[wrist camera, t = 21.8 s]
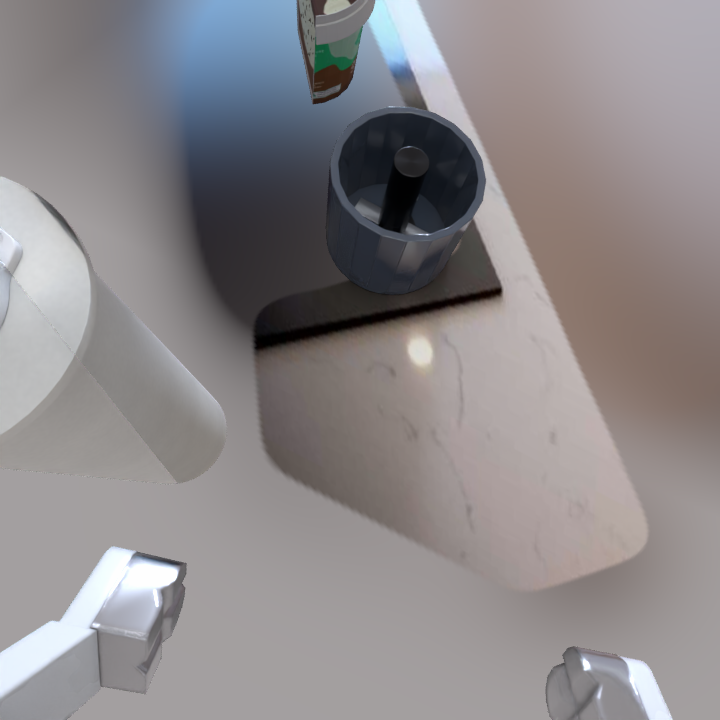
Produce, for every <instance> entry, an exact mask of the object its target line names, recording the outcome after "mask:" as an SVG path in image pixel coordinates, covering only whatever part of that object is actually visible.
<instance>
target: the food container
mask: <svg viewBox="0 0 720 720" xmlns="http://www.w3.org/2000/svg"><path fill="white" fill-rule="evenodd" d="M374 4H375V0H297V22H298V34H299V39H300V44H301V49H302V54H303V59H304V64H305V69H306V74H307V79H308V83H309V88H310V93H311V98H312V103H313V104H318V103H324V102H327V101H329V100H331V99H334V98H336V97H338V96H339V95H340V94H341V93H342V92H343V91H345V90H346V89H347V88H348V86H349V84H350V82H351V80H352V78H353V74H354V68H355V63H356V58H357V53H358V48H359V43H360V37H361V32H362V28H363V25H364V24H365V22H366V21H367V20H368V19H369V17H370V15H371V13H372V11H373V8H374Z"/></svg>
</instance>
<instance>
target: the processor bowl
mask: <svg viewBox="0 0 720 720" xmlns="http://www.w3.org/2000/svg"><path fill="white" fill-rule="evenodd" d="M404 147H416V148H418V149H420V150H422V151H423V152H424V153H425V154H426V155H427V157H428V160H429V168H428V171H427V174H426V176H425V179H424V182H423V185H422V187H421V190H420V193H419V196H418V200H417V201H416V204H415V207H414V209H413V212H412V215H411V216H412V218H413V219H414V222H415V225H416V227H418V228H420V229H422V230H424V231H425V232H427V233H429V234H417V235H406V234H401V233H397V232H393V231H389V230H385V229H383V228H381V227H380V226H378V225H376V224H374V223H373V222H371V221H369V220H367V219H366V218H364V217H363V216H362V215H361V214H360V213H359V212H358V211H357V210H356V208H355V206H356V205H357V203H358V202H359V200H360V198H363V199H365V200H367V201H369V202H371V203H373V204H375V205H377V206H378V207H381V206H382V203H383V199H384V195H385V191H386V187H387V183H388V179H389V175H390V171H391V167H392V164H393V160H394V156H395V154H396V153H397V151H399V150H400V149H402V148H404ZM485 184H486V178H485V173H484V168H483V162H482V159H481V157H480V155H479V153H478V152H477V150H476V148H475V146H474V144H473V143H472V141H471V140H470V139H469V138H468V137H467V136H466V135H465V134H464V133H463V132H462V131H461V130H460V129H459V128H458V127H457V126H456V125H454V123H452V122H450V121H448V120H446V119H445V118H443V117H441V116H439V115H437V114H436V113H433V112H429V111H425V110H421V109H417V108H414V107H386V108H383V109H379V110H376V111H372V112H369V113H367V114H365V115H363V116H361V117H360V118H358V119H357V120H355V121H354V122H353V123H351V124H349V126H347V128H346V129H345V130H344V132H343V133H342V134H341V136H340V137H339V139H338V140H337V141H336V143H335V146H334V150H333V153H332V157H331V160H330V170H329V187H328V202H327V216H326V239H327V246H328V249H329V253H330V255H331V257H332V259H333V261H334V262H335V264H336V266H337V267H338V268H339V270H340V271H341V272H342V273H343V274H344V275H345V276H346V277H347V278H348V279H349V280H351V281H352V282H353V283H355V284H357V285H358V286H360V287H362V288H364V289H367V290H369V291H372V292H376V293H381V294H390V295H396V294H405V293H409V292H413V291H416V290H418V289H420V288H422V287H424V286H426V285H427V284H429V283H430V282H432V281H433V280H434V279H435V278H436V277H437V276H438V275H439V273H440V272H441V271H442V269H443V268H444V266H445V264H446V263H447V261H448V259H449V258H450V256H451V254H452V252H453V251H454V249H455V247H456V246H457V244H458V242H459V241H460V239H461V237H462V235H463V234H464V232H465V230H466V229H467V227H468V225H469V224H470V222H471V220H472V218H473V217H474V215H475V213H476V212H477V210H478V208H479V207H480V205H481V203H482V201H483V196H484V190H485Z"/></svg>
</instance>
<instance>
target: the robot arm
mask: <svg viewBox="0 0 720 720" xmlns="http://www.w3.org/2000/svg"><path fill="white" fill-rule="evenodd" d="M22 253H23V248H22V245H21V244H20V243H19V242H18V241H17V240H16V239H15V238H13V237H12V236H11V235H10V234H8V233H7V232H6V231H5V230H3V229H2V228H1V227H0V328H1V326H2V324H3V322H4V319H5V316H6V313H7V309H8V304H9V292H10V281H11V277H12V275H13V273H14V271H15V269H16V268H17V266H18V264H19V262H20V259H21V257H22ZM185 575H186V563H184V562H179V561H175V560H171V559H166V558H162V557H158V556H153V555H149V554H145V553H140V552H137V551H133V550H128V549H123V548H119V547H114V546H112V547H111V548H110V549H109V550H108V551H107V552H105V554H104V555H103V556H102V558H101V560H100V561H99V562H98V564H97V566H96V567H95V569H94V570H93V572H92V573H91V575H90V576H89V578H88V579H87V581H86V582H85V584H84V585H83V587H82V588H81V590H80V591H79V593H78V594H77V596H76V597H75V599H74V600H73V602H72V603H71V605H70V606H69V608H68V609H67V611H66V612H65V614H64V615H63V617H62V618H61V620H60V621H59V622H57V621H50V622H48V623H47V624H45V625H43V626H42V627H40V628H39V629H37V630H35V631H34V632H33V633H31V634H29V635H27V636H26V637H24V638H23V639H21V640H20V641H18V642H16V643H15V644H13V645H12V646H10V647H9V648H7V649H5V650H4V651H2V652H1V653H0V720H67V719H68V718H69V717H70V716H71V715H72V714H74V713H75V712H76V711H77V710H78V709H79V708H80V707H81V706H83V705H84V704H85V703H86V702H87V701H88V700H89V699H90V698H92V697H93V696H94V695H95V694H96V693H97V692H98V691H99V690H100V686H101V687H107V688H113V689H119V690H124V691H130V692H136V693H141V694H146V692H147V690H148V688H149V685H150V683H151V681H152V678H153V676H154V674H155V672H156V670H157V667H158V665H159V663H160V660H161V655H162V643H163V642H164V641H165V640H166V639H168V638H169V637H170V636H171V635H172V633H173V630H174V628H175V625H176V623H177V620H178V618H179V614H180V611H181V608H182V604H183V600H184V595H185V587H184V586H183V584H182V582H183V580H184V577H185ZM563 659H564V663H562V664H560V665H557V666H555V667H553V669H552V670H551V672H550V674H549V675H548V677H547V683H546V703H547V707H548V711H549V716H550V717H551V719H552V720H673V719H672V717H671V714H670V712H669V710H668V708H667V705H666V703H665V701H664V699H663V697H662V694H661V692H660V690H659V687H658V685H657V683H656V680H655V678H654V676H653V674H652V672H651V669H650V668H649V667H648V665H647V664H646V663H645V662H643V661H640V660H636V659H631V658H626V657H620V656H617V655H615V654H610V653H605V652H600V651H595V650H590V649H585V648H580V647H574V646H573V647H570V648H567V650H566V651H565V652H564V654H563Z"/></svg>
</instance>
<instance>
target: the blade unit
mask: <svg viewBox="0 0 720 720" xmlns="http://www.w3.org/2000/svg"><path fill="white" fill-rule="evenodd" d="M428 168H429V160H428V157H427V155H426V154H425V153H424V152H423V151H422V150H420V149H418V148H416V147H404V148H402V149H400V150H399V151H397V153H396V154H395V156H394V160H393V164H392V167H391V171H390V175H389V179H388V183H387V187H386V191H385V195H384V199H383V203H382V206H381V207H378V206H377V205H375V204H373V203H371V202H369V201H367V200H365V199H363V198H360V200H359V202H358V203H357V205H356V206H355V208H356V210H357V211H358V212H359V213H360V214H361V215H362V216H363V217H364V218H366V219H367V220H369V221H371V222H373V223H374V224H376V225H378V226H380V227H381V228H383V229H385V230H389V231H393V232H397V233H401V234H406V235H417V234H429V233H427V232H425V231H424V230H422V229H420V228H418V227H416V225H415V222H414V219H413V218H412V216H411V215H412V212H413V209H414V207H415V204H416V201H417V200H418V196H419V193H420V190H421V187H422V185H423V182H424V179H425V176H426V174H427V171H428Z"/></svg>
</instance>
